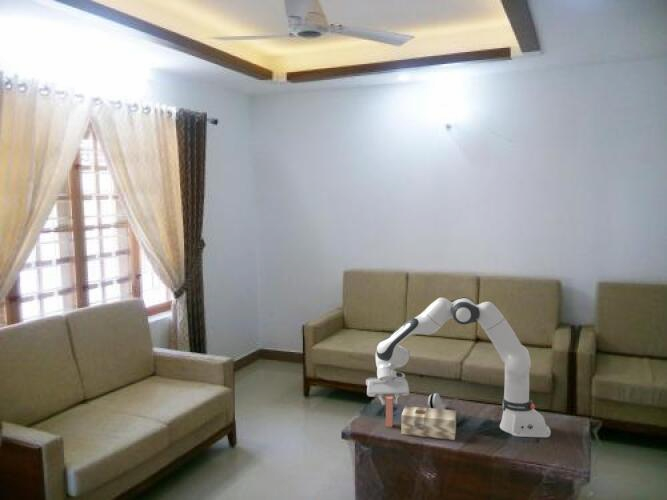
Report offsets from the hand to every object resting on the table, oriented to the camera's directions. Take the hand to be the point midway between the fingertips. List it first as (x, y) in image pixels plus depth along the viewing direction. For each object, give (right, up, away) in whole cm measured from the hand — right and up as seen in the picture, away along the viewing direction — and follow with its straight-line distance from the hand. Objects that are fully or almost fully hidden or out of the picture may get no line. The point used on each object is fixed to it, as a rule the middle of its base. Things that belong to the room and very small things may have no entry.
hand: (389, 403), depth 265 cm
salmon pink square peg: (0, -11, +2) cm, 11 cm away
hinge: (+25, -10, +18) cm, 33 cm away
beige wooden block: (+18, -11, -5) cm, 22 cm away
